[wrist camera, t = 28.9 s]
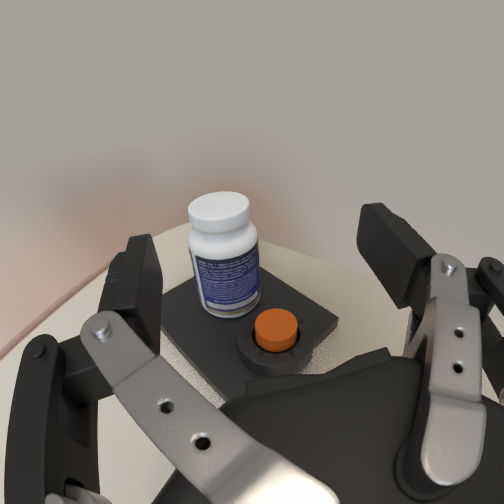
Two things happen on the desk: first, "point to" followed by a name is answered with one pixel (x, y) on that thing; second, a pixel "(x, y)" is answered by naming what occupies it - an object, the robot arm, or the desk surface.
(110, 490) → the desk surface
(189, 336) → the scale
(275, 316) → the button
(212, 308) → the pill bottle
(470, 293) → the robot arm
